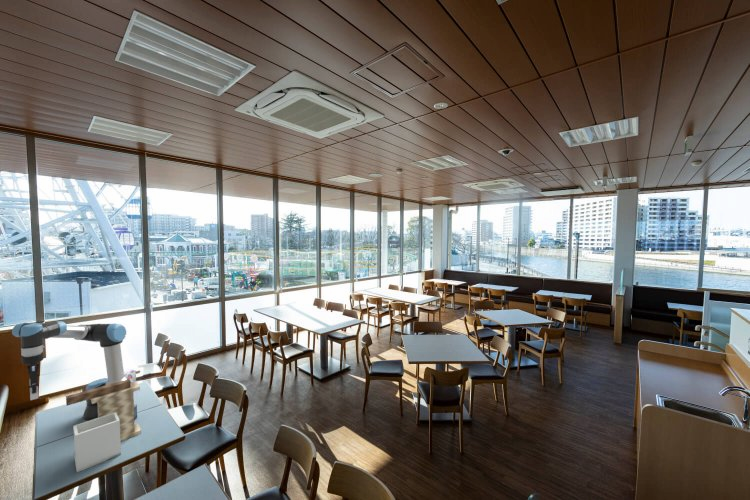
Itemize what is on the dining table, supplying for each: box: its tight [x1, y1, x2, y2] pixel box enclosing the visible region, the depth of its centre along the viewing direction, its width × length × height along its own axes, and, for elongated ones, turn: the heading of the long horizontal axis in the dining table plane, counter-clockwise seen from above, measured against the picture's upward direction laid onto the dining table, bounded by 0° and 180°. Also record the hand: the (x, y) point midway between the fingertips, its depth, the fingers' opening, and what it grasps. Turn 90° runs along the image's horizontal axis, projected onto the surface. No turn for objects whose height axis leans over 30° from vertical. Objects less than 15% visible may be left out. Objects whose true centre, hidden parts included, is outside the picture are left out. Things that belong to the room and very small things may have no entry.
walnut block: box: [65, 379, 131, 407], centre depth 181 cm, size 28×4×4 cm, turn 138°
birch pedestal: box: [91, 381, 142, 442], centre depth 186 cm, size 22×10×30 cm, turn 138°
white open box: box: [72, 412, 122, 473], centre depth 170 cm, size 18×12×20 cm, turn 138°
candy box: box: [124, 369, 137, 383], centre depth 239 cm, size 14×6×16 cm, turn 168°
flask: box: [134, 403, 138, 422], centre depth 205 cm, size 9×3×11 cm, turn 8°
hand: (34, 394), depth 159 cm, fingers open, 13 cm apart
